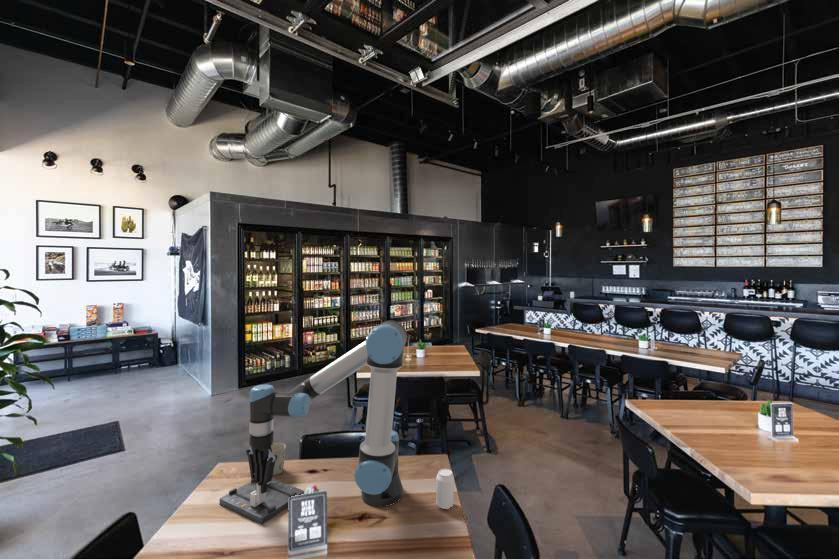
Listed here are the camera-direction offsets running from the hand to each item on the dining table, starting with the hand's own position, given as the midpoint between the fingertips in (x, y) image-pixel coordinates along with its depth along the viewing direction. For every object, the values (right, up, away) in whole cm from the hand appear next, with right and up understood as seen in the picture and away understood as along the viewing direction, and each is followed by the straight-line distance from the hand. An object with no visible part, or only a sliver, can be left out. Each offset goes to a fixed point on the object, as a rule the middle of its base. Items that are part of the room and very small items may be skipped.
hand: (261, 501), depth 128 cm
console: (-2, -3, +7) cm, 8 cm away
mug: (-7, -3, +26) cm, 28 cm away
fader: (-2, -1, +1) cm, 2 cm away
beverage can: (+63, -4, +4) cm, 63 cm away
